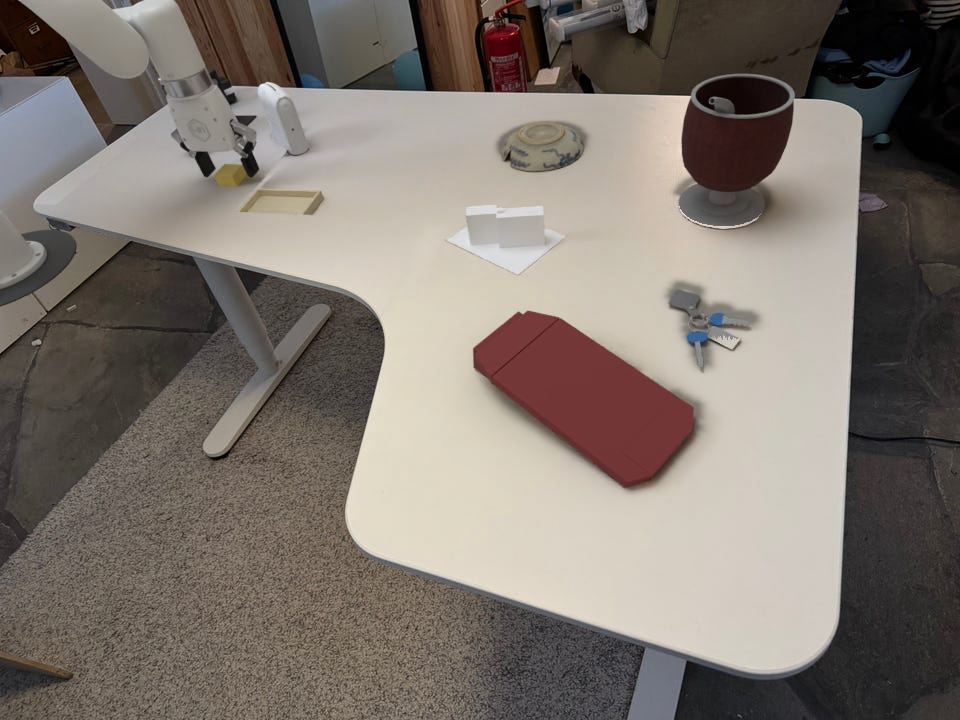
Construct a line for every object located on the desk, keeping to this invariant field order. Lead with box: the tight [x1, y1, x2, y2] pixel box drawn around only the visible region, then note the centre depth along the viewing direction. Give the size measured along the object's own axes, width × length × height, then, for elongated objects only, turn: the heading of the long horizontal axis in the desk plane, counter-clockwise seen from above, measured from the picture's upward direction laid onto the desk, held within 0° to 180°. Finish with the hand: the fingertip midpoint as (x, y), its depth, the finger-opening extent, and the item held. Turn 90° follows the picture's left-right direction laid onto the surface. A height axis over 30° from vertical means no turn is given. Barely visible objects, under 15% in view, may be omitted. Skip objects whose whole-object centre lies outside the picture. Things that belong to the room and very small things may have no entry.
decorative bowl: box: [500, 120, 585, 173], centre depth 109 cm, size 15×4×15 cm
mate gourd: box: [678, 73, 796, 226], centre depth 84 cm, size 16×14×20 cm
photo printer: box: [257, 81, 309, 156], centre depth 119 cm, size 10×4×12 cm, turn 37°
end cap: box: [218, 76, 238, 103], centre depth 140 cm, size 10×7×7 cm
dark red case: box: [472, 310, 695, 488], centre depth 69 cm, size 12×5×25 cm
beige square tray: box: [236, 188, 324, 216], centre depth 105 cm, size 13×13×2 cm
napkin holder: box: [446, 204, 567, 276], centre depth 91 cm, size 15×11×6 cm
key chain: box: [667, 289, 751, 369], centre depth 75 cm, size 14×8×1 cm, turn 5°
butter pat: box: [213, 163, 248, 187], centre depth 114 cm, size 4×4×3 cm
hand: (232, 173), depth 114 cm, fingers open, 9 cm apart
